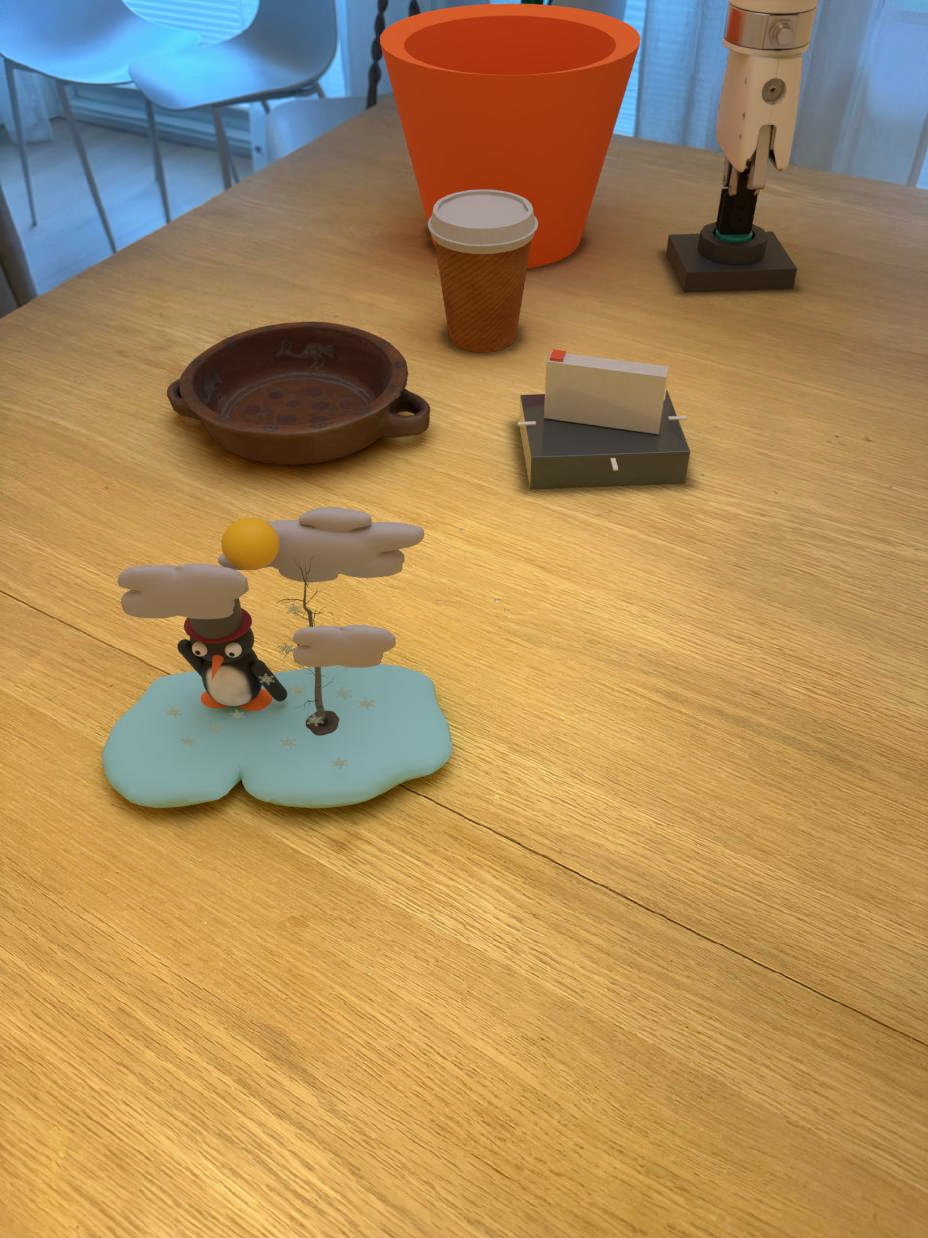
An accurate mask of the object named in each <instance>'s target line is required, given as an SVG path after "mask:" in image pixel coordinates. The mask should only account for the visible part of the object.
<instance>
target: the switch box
mask: <svg viewBox="0 0 928 1238" xmlns="http://www.w3.org/2000/svg"><path fill="white" fill-rule="evenodd" d="M716 230H717V227H716V221H714V222H711V223H707V224H705V225H704V226H703V227H702V228H701V230H699V233H676V234H675V233H673V234H668V237H667V245H666V252H665V254H666V257H667V259H668V262H669V264H670V266H671V268H672V270H673V272H674V275H675V277H676V280H677V281H678V284H679V286H680V288H681V290H682V293H715V292H747V291H749V292H751V291H778V290H780V291H781V290H793V289H794V285H795V281H796V278H797V277H796V276H797V271H798V268H797V266H796V264H795V263H794V262H793V260H792V259H791V257H790V255H789V254H788V252H787V251H786V249H785V247H784V246H783V245H782V243H781V241H780V240H779V239H778V237H777V235H776V234H775V233H774V231H766V230H765V229H764V228H762V227H760V226H758V225H756V224H754V223H753V225H752V230H751V231H752V233H753V235H752V240H750V241H747V242H728V241H723V240H721V239H719V238H717V237H715V234H716Z"/></svg>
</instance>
